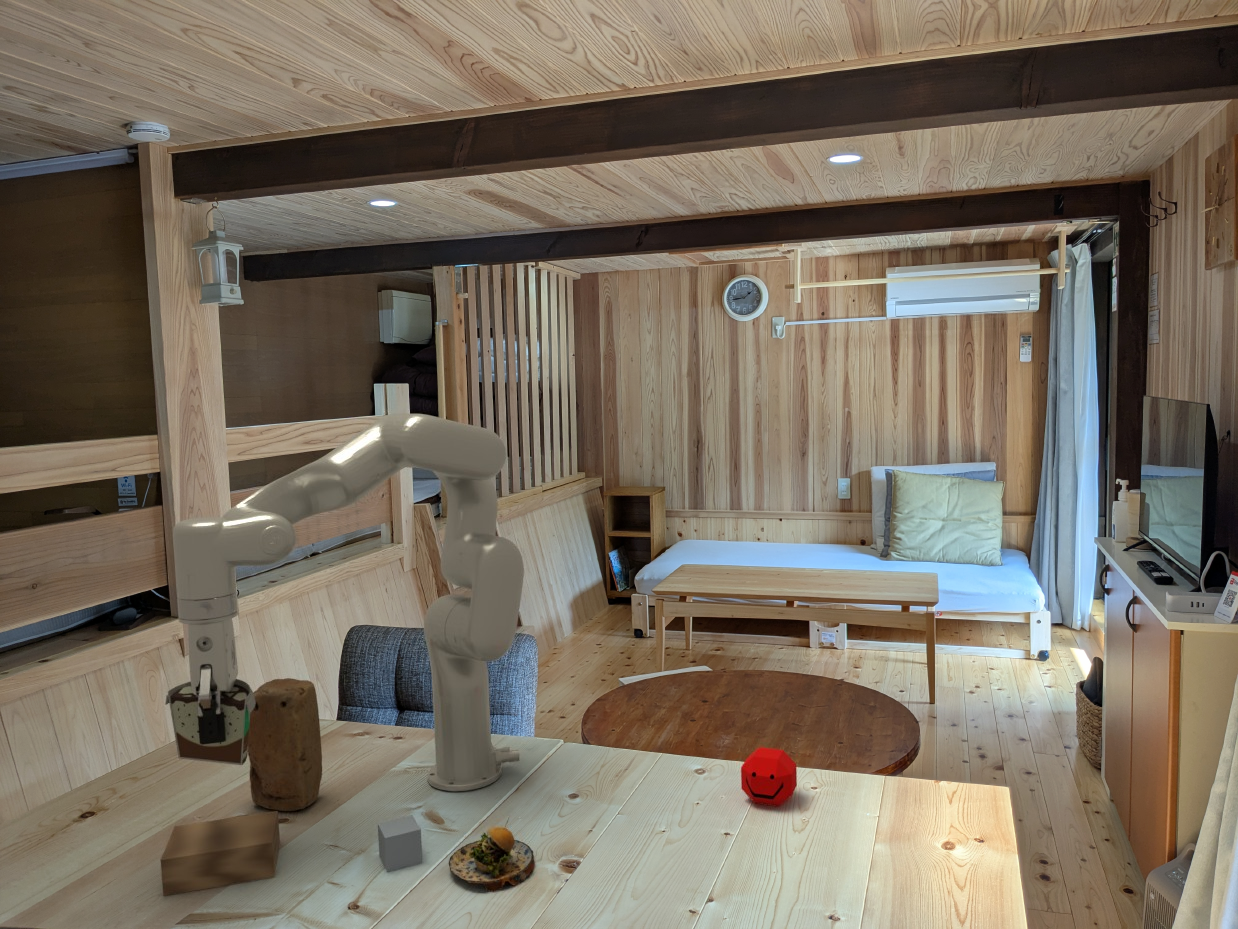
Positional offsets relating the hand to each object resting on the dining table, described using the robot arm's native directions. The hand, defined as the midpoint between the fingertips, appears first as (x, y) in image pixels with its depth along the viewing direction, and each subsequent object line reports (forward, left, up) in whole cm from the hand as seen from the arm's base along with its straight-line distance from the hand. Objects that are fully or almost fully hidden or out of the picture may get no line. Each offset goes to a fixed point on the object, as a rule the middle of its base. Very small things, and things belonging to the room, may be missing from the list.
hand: (216, 732), depth 127 cm
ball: (-81, +7, -20) cm, 83 cm away
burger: (-36, +13, -20) cm, 43 cm away
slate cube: (-24, +6, -20) cm, 32 cm away
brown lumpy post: (-7, -19, -20) cm, 28 cm away
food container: (0, -2, -3) cm, 4 cm away
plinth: (0, 0, -20) cm, 20 cm away
